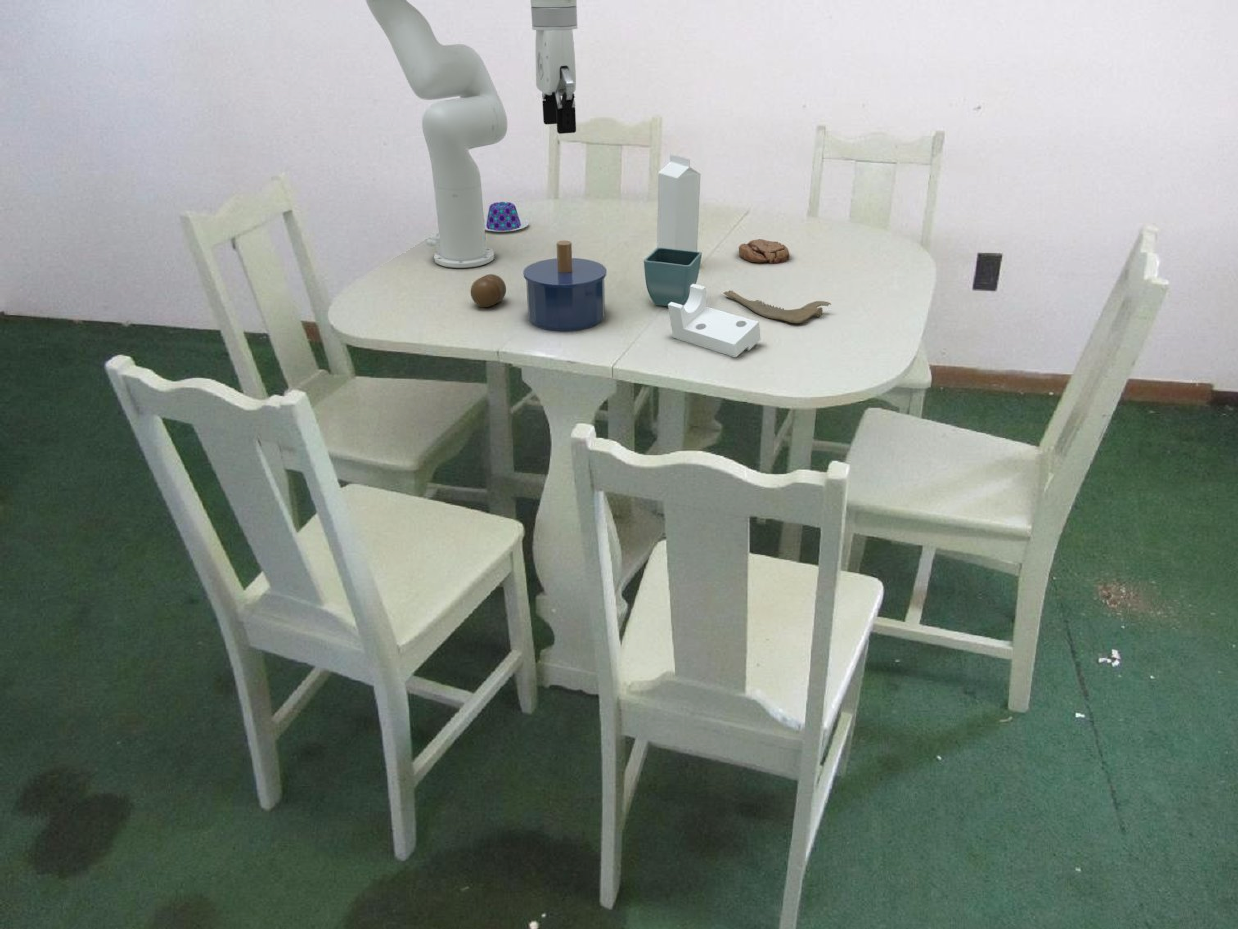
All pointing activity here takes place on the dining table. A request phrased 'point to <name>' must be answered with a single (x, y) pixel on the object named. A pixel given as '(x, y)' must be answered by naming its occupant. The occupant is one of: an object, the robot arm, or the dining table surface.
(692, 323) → the bracket
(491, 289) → the kiwi
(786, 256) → the cookie
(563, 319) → the crock
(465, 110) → the robot arm
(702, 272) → the dining table surface
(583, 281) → the lid
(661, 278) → the flower pot
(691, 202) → the milk
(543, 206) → the dining table surface
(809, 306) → the jawbone
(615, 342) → the dining table surface
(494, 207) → the pudding
